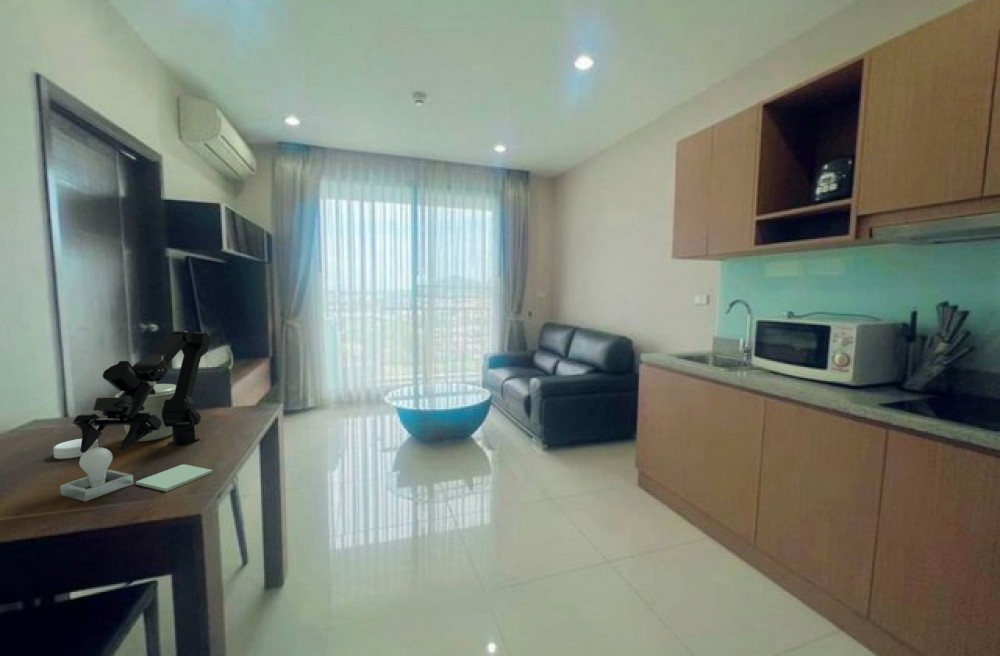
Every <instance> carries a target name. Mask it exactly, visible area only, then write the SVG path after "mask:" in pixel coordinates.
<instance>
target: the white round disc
mask: <svg viewBox="0 0 1000 656" xmlns="http://www.w3.org/2000/svg"><path fill="white" fill-rule="evenodd" d="M81 443H82V438H77V439H72V440H67V441H64V442H61V443H58V444H56V445H55V446H53V448H52V449H53V452H52V453H53V457H54V458H55V459H58V460H62V459H63V460H66V459H73V458H74V459H75V458H79V457H80V458H81V456H82V455H83V454H84V453H82V452H81V451H80V450H81ZM98 447H99V439H97V440H96V441H95V442H94V443H93V444H92V446H91V447H90V448H89V449H88V450H90V449H93V448H98ZM88 450H87V451H88Z"/></svg>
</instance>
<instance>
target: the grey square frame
mask: <svg viewBox="0 0 1000 656" xmlns="http://www.w3.org/2000/svg"><path fill="white" fill-rule="evenodd" d="M107 481H108V482H107ZM131 485H134V474H130V473H126V472H121V471H118V470H112V469H107V471H106V478H105V483H104V484H101V485H98V486H95V487H92V488H91V482H90V481H89V477H88V476H85V477H81V478H79V479H76V480H73V481H69V482H66V483H64V484H61V485H60V487H59V488H60V496H64V497H68V498H70V499H75V500H78V501H83V502H88V501H91V500H94V499H97V498H99V497H101V496H102V497H103V496H104V495H108V494H110V493H113V492H115V491H118V490H120V489H123V488H126V487H130V486H131ZM89 487H90V488H89Z"/></svg>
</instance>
